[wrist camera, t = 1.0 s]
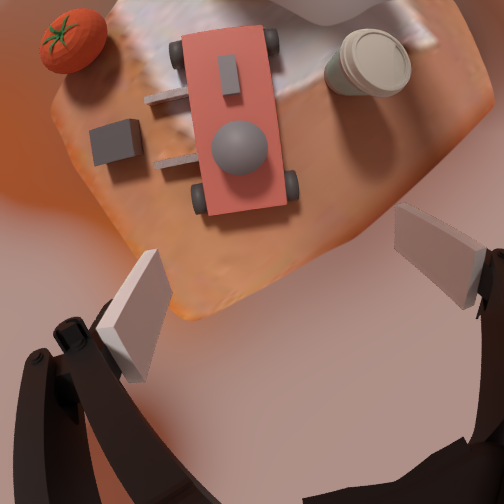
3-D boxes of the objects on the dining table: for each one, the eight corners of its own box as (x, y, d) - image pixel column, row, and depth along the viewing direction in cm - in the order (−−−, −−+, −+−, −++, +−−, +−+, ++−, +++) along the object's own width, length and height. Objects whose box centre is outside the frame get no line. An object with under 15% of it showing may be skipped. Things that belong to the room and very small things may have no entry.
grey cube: (101, 130, 33) (89, 130, 29) (138, 120, 33) (129, 118, 30) (106, 163, 35) (94, 166, 31) (143, 153, 35) (134, 156, 32)
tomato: (97, 10, 25) (68, -13, 15) (129, 41, 28) (102, 18, 19) (51, 56, 26) (15, 45, 17) (79, 90, 30) (42, 83, 21)
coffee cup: (349, 116, 35) (392, 111, 24) (302, 78, 32) (331, 55, 21) (378, 78, 32) (426, 65, 21) (335, 40, 30) (371, 11, 19)
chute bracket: (149, 99, 32) (143, 97, 30) (191, 89, 32) (189, 86, 30) (160, 167, 36) (155, 169, 34) (202, 159, 36) (200, 160, 34)
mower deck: (174, 47, 29) (160, 28, 22) (271, 34, 29) (281, 12, 22) (198, 210, 39) (191, 228, 31) (293, 196, 39) (308, 210, 32)
